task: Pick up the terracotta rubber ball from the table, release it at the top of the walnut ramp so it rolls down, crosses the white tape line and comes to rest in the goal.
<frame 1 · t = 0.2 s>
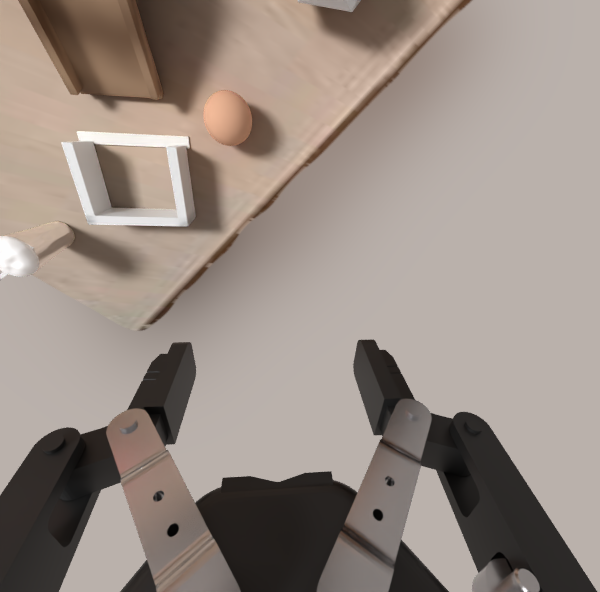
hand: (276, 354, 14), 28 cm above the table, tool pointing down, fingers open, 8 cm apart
ramp: (111, 29, 28), on the table
tape line: (135, 139, 33), on the table
goal: (144, 181, 35), on the table
ball: (228, 119, 30), point 2 cm above the table
milkshake: (61, 234, 38), on the table
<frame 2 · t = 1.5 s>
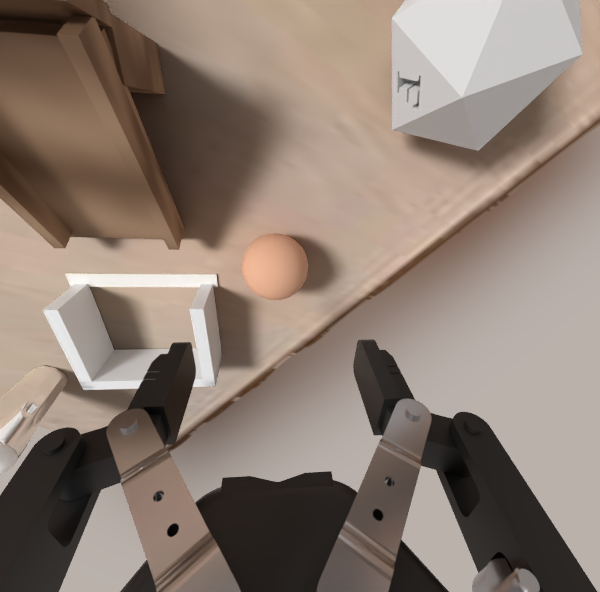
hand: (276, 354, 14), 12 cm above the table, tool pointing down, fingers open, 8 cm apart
ramp: (111, 155, 19), on the table
tape line: (144, 280, 24), on the table
die: (432, 64, 18), on the table
goal: (156, 322, 27), on the table
ball: (275, 267, 22), point 2 cm above the table
milkshake: (49, 377, 29), on the table
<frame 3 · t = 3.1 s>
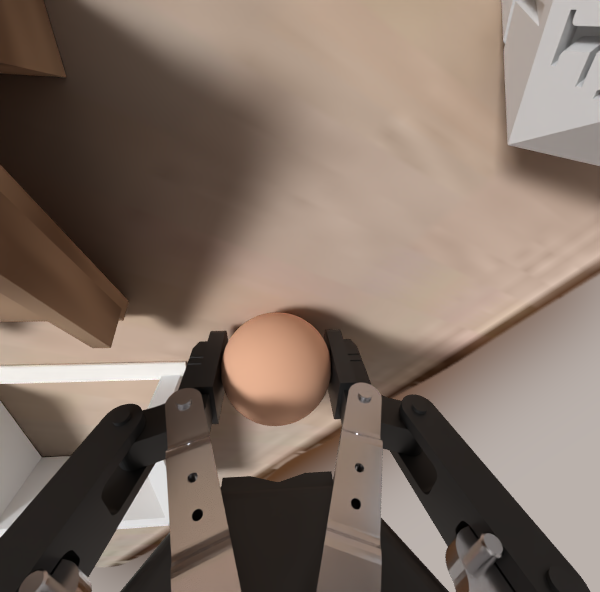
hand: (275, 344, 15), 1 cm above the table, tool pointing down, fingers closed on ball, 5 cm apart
tape line: (73, 372, 16), on the table
die: (570, 23, 10), on the table
goal: (99, 424, 18), on the table
ball: (276, 366, 13), point 2 cm above the table, touching gripper
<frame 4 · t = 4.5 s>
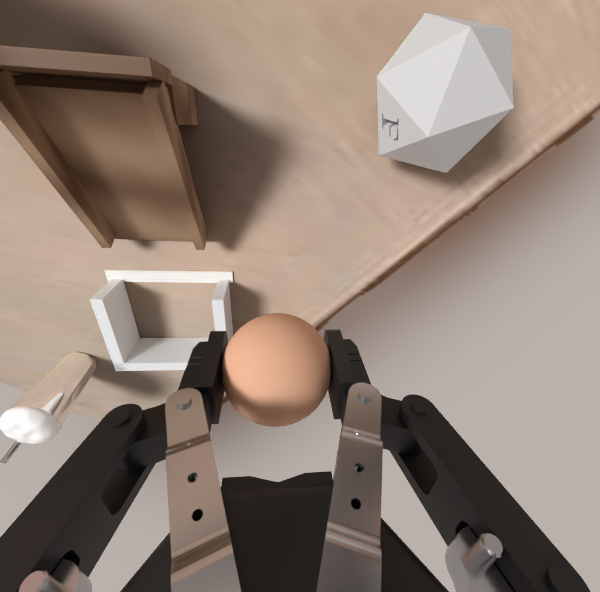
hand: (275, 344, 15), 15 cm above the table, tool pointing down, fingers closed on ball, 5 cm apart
ramp: (151, 172, 24), on the table
tape line: (171, 276, 28), on the table
die: (412, 103, 23), on the table
goal: (178, 314, 31), on the table
ball: (277, 367, 13), point 17 cm above the table, touching gripper
milkshake: (81, 363, 33), on the table
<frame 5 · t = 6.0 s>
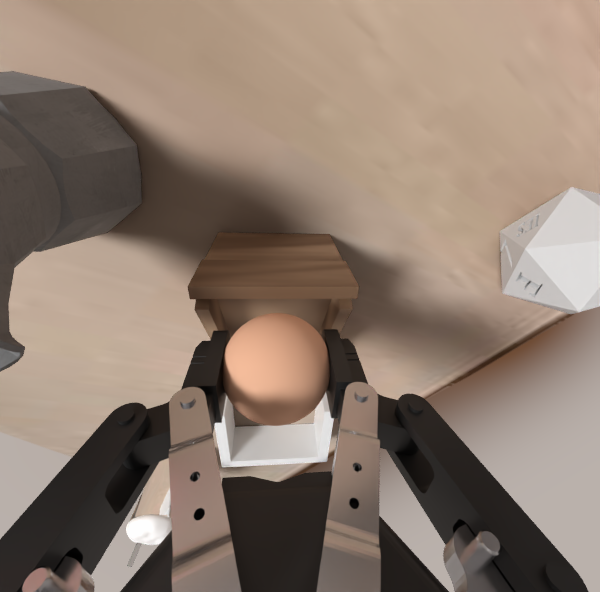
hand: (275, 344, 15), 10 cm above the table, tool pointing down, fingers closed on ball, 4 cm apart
ramp: (274, 300, 25), on the table
die: (527, 236, 24), on the table
goal: (275, 407, 32), on the table
coffeepot: (52, 151, 18), on the table
ball: (276, 366, 13), point 11 cm above the table, touching gripper
milkshake: (175, 447, 35), on the table
when the fingers open (10 cm above the table, at t = 6.1 s): ball drops 9 cm and tips over, point 2 cm above the table.
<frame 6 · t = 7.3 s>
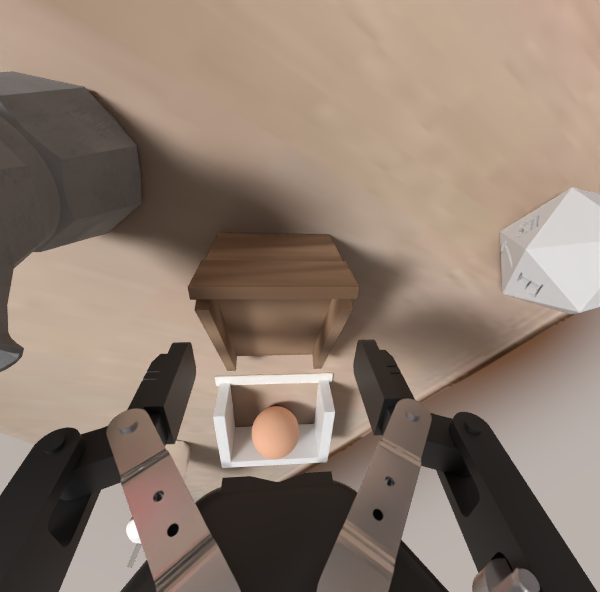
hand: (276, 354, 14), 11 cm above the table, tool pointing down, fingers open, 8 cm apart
ramp: (275, 300, 25), on the table
tape line: (275, 378, 30), on the table
die: (528, 236, 24), on the table
goal: (275, 407, 32), on the table
coffeepot: (52, 151, 18), on the table
ball: (275, 431, 30), point 2 cm above the table, tilted 156°
milkshake: (175, 448, 35), on the table
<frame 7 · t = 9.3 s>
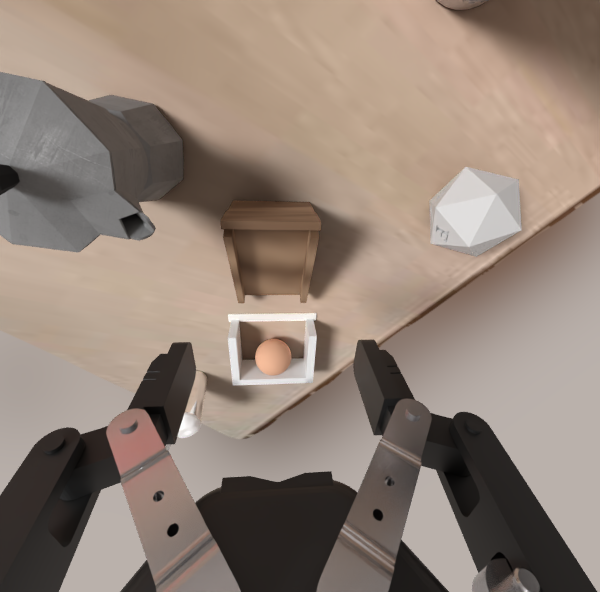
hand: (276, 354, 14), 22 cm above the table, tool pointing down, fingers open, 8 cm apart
ramp: (272, 252, 35), on the table
tape line: (272, 317, 39), on the table
die: (450, 205, 34), on the table
goal: (273, 342, 42), on the table
coffeepot: (127, 144, 28), on the table
ball: (273, 356, 40), point 2 cm above the table, tilted 160°
milkshake: (195, 378, 44), on the table
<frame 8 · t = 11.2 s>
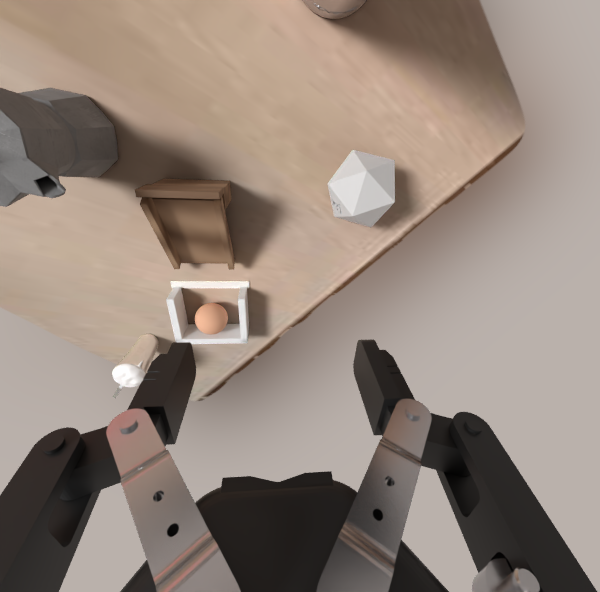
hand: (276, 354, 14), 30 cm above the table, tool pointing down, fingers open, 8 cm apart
ramp: (203, 225, 40), on the table
tape line: (210, 284, 45), on the table
die: (354, 184, 39), on the table
goal: (213, 308, 47), on the table
coffeepot: (68, 129, 34), on the table
ball: (211, 318, 45), point 2 cm above the table, tilted 164°
milkshake: (148, 341, 50), on the table
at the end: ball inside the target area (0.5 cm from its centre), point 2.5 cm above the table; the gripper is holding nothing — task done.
